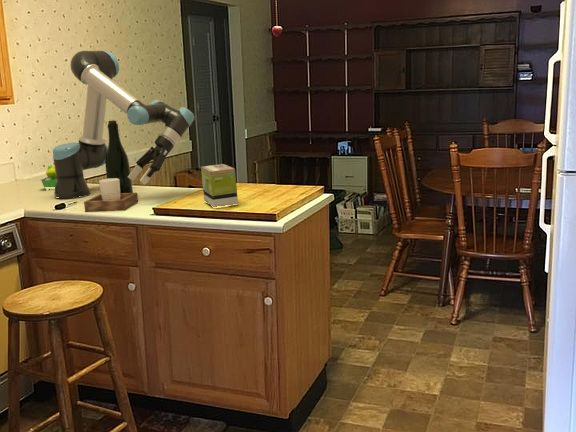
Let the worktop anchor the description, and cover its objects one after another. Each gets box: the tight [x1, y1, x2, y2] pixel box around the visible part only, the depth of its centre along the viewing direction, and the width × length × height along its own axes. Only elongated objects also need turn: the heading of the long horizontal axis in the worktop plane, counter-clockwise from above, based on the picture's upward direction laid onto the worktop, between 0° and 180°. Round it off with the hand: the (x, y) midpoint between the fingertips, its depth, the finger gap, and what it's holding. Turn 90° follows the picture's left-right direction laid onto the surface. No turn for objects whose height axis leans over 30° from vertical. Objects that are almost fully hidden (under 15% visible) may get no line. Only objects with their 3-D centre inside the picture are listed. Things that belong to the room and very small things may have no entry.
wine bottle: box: [104, 120, 134, 193], centre depth 272 cm, size 10×10×33 cm
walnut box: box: [83, 192, 139, 213], centre depth 252 cm, size 16×16×4 cm
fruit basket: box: [40, 165, 57, 188], centre depth 308 cm, size 11×9×11 cm
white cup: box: [98, 178, 121, 201], centre depth 251 cm, size 8×8×10 cm
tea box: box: [200, 163, 239, 207], centre depth 243 cm, size 15×10×15 cm
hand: (136, 181), depth 256 cm, fingers open, 13 cm apart
